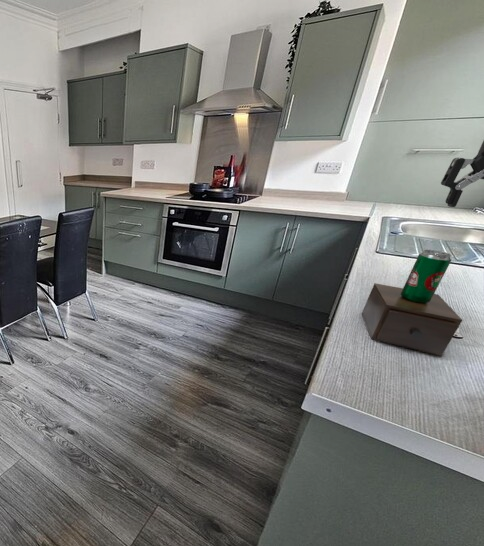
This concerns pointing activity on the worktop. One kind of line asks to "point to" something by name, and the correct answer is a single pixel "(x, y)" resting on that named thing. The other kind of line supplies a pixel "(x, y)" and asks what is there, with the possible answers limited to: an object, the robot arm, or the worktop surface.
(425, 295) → the soda can
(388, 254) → the worktop surface
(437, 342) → the drawer
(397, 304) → the cabinet
